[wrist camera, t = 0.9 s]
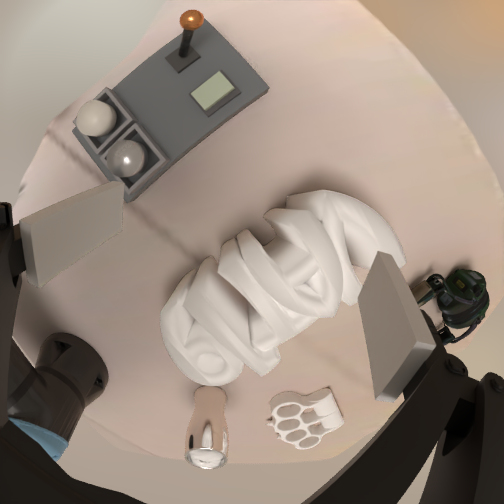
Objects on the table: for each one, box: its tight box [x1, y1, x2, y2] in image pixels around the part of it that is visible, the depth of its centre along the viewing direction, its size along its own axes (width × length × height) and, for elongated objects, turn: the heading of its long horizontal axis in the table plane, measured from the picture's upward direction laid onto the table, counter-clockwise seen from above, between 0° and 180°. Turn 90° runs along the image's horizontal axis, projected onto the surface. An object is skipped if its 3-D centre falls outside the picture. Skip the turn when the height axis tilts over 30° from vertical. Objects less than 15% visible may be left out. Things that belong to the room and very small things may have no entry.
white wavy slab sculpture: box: [160, 190, 407, 386], centre depth 39 cm, size 35×16×11 cm, turn 124°
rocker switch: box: [191, 71, 235, 111], centre depth 32 cm, size 4×3×1 cm, turn 128°
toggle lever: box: [178, 10, 204, 58], centre depth 27 cm, size 3×3×9 cm
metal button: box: [106, 140, 148, 177], centre depth 32 cm, size 4×4×3 cm
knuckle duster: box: [265, 388, 344, 449], centre depth 53 cm, size 3×18×15 cm
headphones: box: [411, 269, 490, 345], centre depth 44 cm, size 13×13×20 cm
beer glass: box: [185, 386, 229, 469], centre depth 44 cm, size 7×7×15 cm
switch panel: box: [72, 18, 269, 203], centre depth 34 cm, size 24×14×6 cm, turn 128°
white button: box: [76, 100, 117, 137], centre depth 30 cm, size 4×4×3 cm
